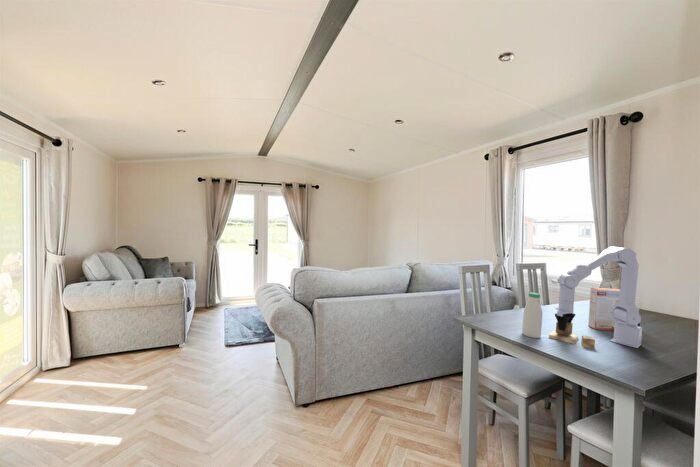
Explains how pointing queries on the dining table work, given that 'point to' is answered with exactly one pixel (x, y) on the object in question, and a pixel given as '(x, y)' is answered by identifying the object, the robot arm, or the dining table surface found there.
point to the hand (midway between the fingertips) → (564, 329)
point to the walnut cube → (567, 331)
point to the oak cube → (588, 342)
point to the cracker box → (602, 308)
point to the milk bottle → (532, 317)
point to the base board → (563, 337)
